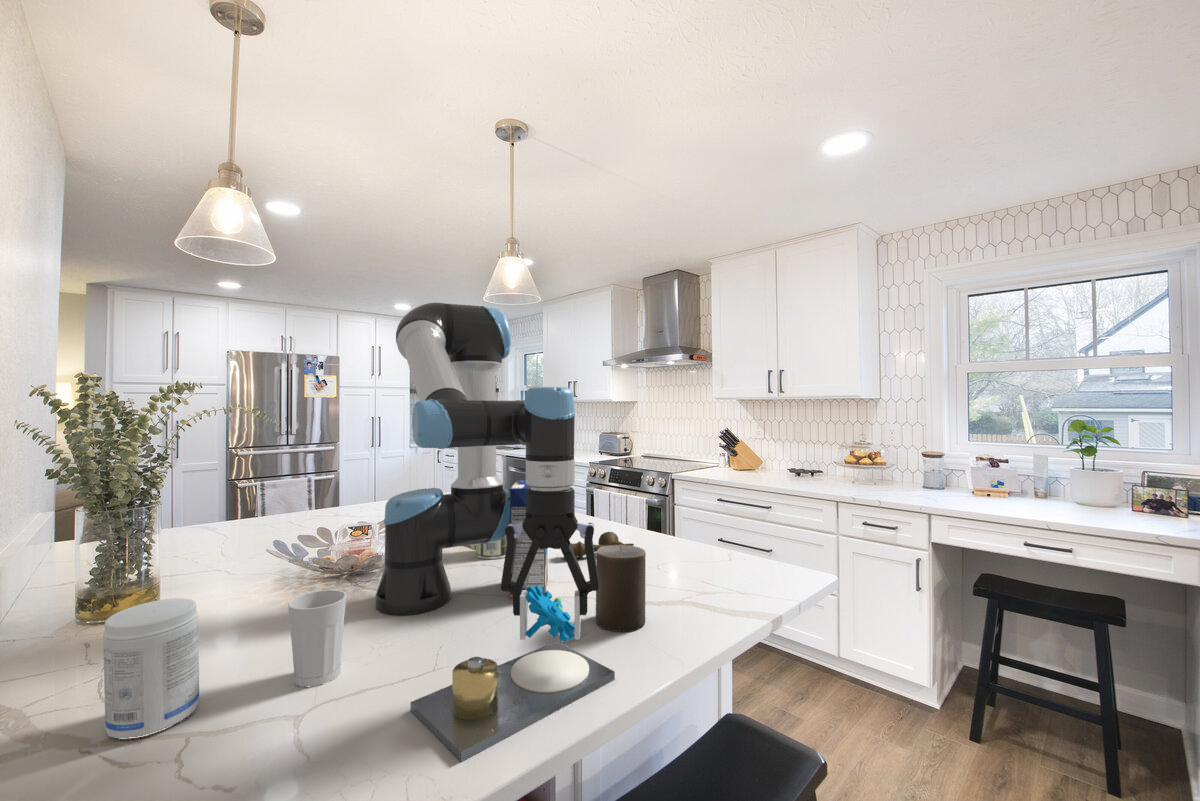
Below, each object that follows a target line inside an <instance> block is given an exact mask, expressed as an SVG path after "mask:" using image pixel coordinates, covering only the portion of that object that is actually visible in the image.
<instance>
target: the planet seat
mask: <svg viewBox="0 0 1200 801" xmlns="http://www.w3.org/2000/svg"><path fill="white" fill-rule="evenodd" d="M588 674H589V665H588V663H587V661H586V660H585V659H584V658H582V657H581V656H579V655H577V654H575V653H572V652H568V651H561V650H546V651H539V652H535V653H532V654H529V655H526V656H524V657H522V658H521V659H519V660H518V661H517V662H516V663H515V664H514V665H513V667H512V669H511V678H512V680H513V682H514V683H515V684H516V685H517V686H519V687H521V688H523V689H525V690H528V691H532V692H538V693H555V692H561V691H565V690H569V689H571V688H574V687H576V686H578V685H579V684H581V683H582V682H583V681H584V680H585V679H586V678H587V676H588Z"/></svg>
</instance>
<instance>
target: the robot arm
mask: <svg viewBox="0 0 1200 801" xmlns="http://www.w3.org/2000/svg"><path fill="white" fill-rule="evenodd" d="M395 342H396V346H397V350H398V351H399V353H400V355H401V356H402V357H403V358H404V359H405V360H406V361H407V365H408V367H409V371H410V375H411V378H412V380H413V384H414V388H415V391H416V393H417V398H418V400H419V401H417V402H415V403H414V405H413V408H412V417H411V429H412V440H413V441H414V443H415V444H416V446H418V447H419V448H421V449H438V450H444V449H452V448H457V478H455V480H454V481H453V482H452V483H451V484H450V493H448V494H445V493H444V492H443V490H442V489H441V488H438V487H430V488H418V489H414V490H409V491H405V492H401V493H399V494H396V495H395V496H392V497H390V498H389V499H388V500H387V502H386V504H385V506H384V507H385V508H384V510H385V511H384V519H383V524H384V568H383V572H382V574H381V577H380V578H381V579H380V581H379V584H378V587H377V590H376V593H375V609H376V610H377V611H379V612H381V613H383V614H388V615H396V616H402V615H403V616H404V615H414V614H421V613H425V612H429V611H432V610H435V609H438V608H440V607H442V606H444V605H445V604H447V603H448V602H449V601H450V600H451V597H452V596H451V591H452V589H451V583H450V581H449V577H448V575H447V573H446V569H445V566H444V563H443V549H449V548H450V549H451V548H455V547H456V548H457V547H465V546H471V545H472V546H473V545H476V544H481V543H482V544H487V543H488V542H493V541H498V540H501V539H502V538H504V537H505V535H506V538H507V547H506V554H505V558H504V561H503V568H502V575H501V581H500V582H501V583H500V590H501V592H508V593H512V595H513V600H512V613H513V616H514V617H515V616H518V617H519V640H520V641H521V640H522V641H523V640H524V641H525V640H526V638H527V635H526V632H527V631H528V601H527V600H526V599H525V596H526V595H527V590H522V587H523V585H524V583H525V580H526V578H527V575H528V573H529V570H530V568H531V565H532V563H533V560H534V558H535V555H536V553H537V551H538V548H540V549H547V548H548V549H554V550H561V553H562V555H563V558H564V557H565V559H566V560H565V559H564V560H565V561H566V564H567V566H568V569H569V571H570V575H571V576H572V578H573V580H574V583H575V586H576V588H577V589H575V590H574V598H573V599H574V626H575V630H574V635H575V636H574V640H580V638H581V616H587V613H588V595H589V593H591V592H596V591H597V590H598V589H599V579H598V572H597V558H596V554H595V553H596V552H594V546H593V545H594V542H593V541H594V538H593V537H594V534H595V533H594V532H595V524H594V523H593V522H588V523H584V522H580V521H578V519H577V517H576V515H575V514H576V513H575V504H576V503H575V502H576V501H575V500H576V499H575V498H576V497H575V496H576V495H575V489H574V488H573V487H572V486H573V485H574V484H575V482H576V481H575V479H576V478H575V472H576V471H575V470H576V469H575V462H576V461H575V426H576V425H575V423H576V422H575V416H576V409H575V400H574V392H573V390H572V389H571V388H568V387H565V386H564V387H562V386H536V387H535V386H534V387H529V388H528V389H527V390H526V392H525V399H524V400H523V399H521V400H517V399H516V400H497V398H496V396H497V394H496V389H497V388H496V386H497V385H496V372H497V371H498V370H499V369H500V368H501V367H502V366H503V359H506V358H507V357H508V356H509V354H510V352H511V346H512V337H511V330H510V325H509V321H508V319H507V316H506V315H505V313H504V312H503V311H501V310H500V309H498V308H494V307H488V306H487V307H486V306H484V305H481V306H480V305H472V304H471V305H469V304H458V303H457V304H455V303H445V302H429V303H423V304H421V305H419V306H416V307H415V308H414V307H413V309H411V310H410V311H408V312H407V314H405V315H404V316H403V317H402V318H401V320H400V322H399V323H398V324H397V327H396V331H395ZM520 445H522V446H523V445H524V446H525V480H526V484H527V485H528V486H530V487H529V488H528V489H527V490H526V516H525V519H524V521H523V523H518V524H514V523H510V491H509V490H508V489H507V488H504V482H503V481H502V480H501V479H500V478H499V477H498V476H497V446H498V447H499V446H520ZM522 530H524V531H525V532H526V534H527V535H528V537H529V538H530V539H531V541H532V544H531V546H530V549H529V551H528V554H527V556H526V559H525V561H524V564H523V566H522V569H521V571H520V574H519V576H518V578H517V581H516V582H514V581H512V574H513V567H514V560H515V554H516V547H517V538H519V537H520V535H521V531H522ZM576 531H578V532H579V536H580V538H582V539H584V542H583V544H584V545H585V552H586V555H585V558H586V564H587V571H588V577H589V580H587V581H586V578H585V576H584V573H583V571H582V569H581V566H580V564H579V562H578V559H577V557H576V556H575V554H574V551H573V549H572V545H571V543H572V542H571V541H570V539H571V538H572V536H573V535H574V533H576Z"/></svg>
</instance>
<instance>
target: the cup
mask: <svg viewBox="0 0 1200 801" xmlns="http://www.w3.org/2000/svg"><path fill="white" fill-rule="evenodd" d="M347 597H348V596H347V593H346V592H345V591H344V590H339V589H322V590H314V591H310V592H306V593H304V594H300V595H298V596H296V597H294V598H292V599H290V600H289V602H288V603H287V606H288V608H287V610H288V616H289V617H288V618H289V628H290V638H291V639H290V640H291V650H292V651H291V652H292V663H293V675H294V676H293V677H294V678H293V682H295V683H294V685H295V684H296V685H295V686H297V685H299V686H307V687H306V688H309V687H308V686H315V687H317V686H316V685H319V686H321V685H320V684H323V683H326V682H328V681H330V682H332V681H333V679H334V678H335V679H337V678H338V677H339V676H340V674H341V670H342V669H341V666H342V664H341V662H342V652H343V650H342V649H343V636H344V628H345V627H344V625H345V614H346V606H347ZM338 675H339V676H338ZM337 676H338V677H337ZM336 677H337V678H336ZM335 679H334V680H335ZM331 680H332V681H331ZM328 683H329V682H328ZM326 684H327V683H326ZM323 685H324V684H323ZM299 686H298V687H299Z"/></svg>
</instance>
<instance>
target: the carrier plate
mask: <svg viewBox="0 0 1200 801" xmlns="http://www.w3.org/2000/svg"><path fill="white" fill-rule="evenodd" d="M546 650H561V651H568V652H572V653H575V654H577V655H579V656H581V657H582V658H584V659H585V660H586V661H587V663H588V665H589V674H588V676H587V678H586V679H585V680H584V681H583V682H582V683H581V684H579V685H578V686H576V687H574V688H571V689H569V690H565V691H561V692H555V693H538V692H532V691H528V690H525V689H523V688H521V687H519V686H517V685H516V684H515V683H514V682H513V680H512V678H511V669H512V667H513V665H514V664H515V663H516V662H517V661H518V660H519V659H521V658H522V657H524V656H526V655H529V654H532V653H535V652H539V651H546ZM615 674H616V673H615V671H614V670H613V669H612V668H608V667H606V666H605V665H604V664H602V663H599V662H597V661H596V660H594V659H592V658H590V657H588V656H587V655H584V654H582V653H580V652H578V651H577V650H574V649H573V648H571V647H569V646H567V645H565V644H563V643H562V642H560V641H558V640H556V641H554V642H551V643H549V644H546V645H544V646H542V647H540V648H537V649H535V650H532V651H529V652H528V653H525V654H522V655H520V656H517V657H516V658H513V659H511V660H508V661H506V662H503V663H501V664H497V662H496V661H494V660H493V659H489V658H486V657H481V656H474V657H473V656H472V657H470V658H469V659H467V660H464V661H461V662H459V663H458V664H457V665H455V666H454V667H453V670H452V680H451V681H452V684H451V685H448V686H446V687H443V688H441V689H439V690H436V691H434V692H432V693H429V694H427V695H424V696H421V697H419V698H417V699H414V700H412V701H410V702H409V703H410V712H411V713H412V714H413V715H414V717H415V718H417V720H419V721H420V722H421V723H422V724H423V726H425V727H426V728H427V729H428V731H430V732H431V733H432V734H433V735H434V736H435V737H436V738H437V739H438V741H439V742H441V744H442V745H443V746H444V747H445V748H446V749H447V750H448V751H449V752H450V753H451V755H453V756H454V757H455V758H456V759H457V760H458V761H459V762H460V763H463V762H464V761H466V760H467V759H470V758H471V757H473V756H475V755H476V754H480V753H481V752H482V751H485V750H486V749H489V748H491V747H492V746H495V745H496V744H497V743H500V742H501V741H503V740H505V739H506V738H509V737H510V736H513V735H514V734H516V733H518V732H519V731H521V730H523V729H525V728H527V727H529V726H531V725H533V724H534V723H537V722H538V721H540V720H542V719H544V718H545V717H548V716H549V715H552V714H553V713H555V712H557V711H558V710H560V709H562V708H564V707H567V706H568V705H570V704H571V703H574V702H576V701H577V700H579V699H581V698H583V697H585V696H587V695H588V694H591V693H592V692H593V691H595V690H597V689H600V688H601V687H603V686H605V685H608V684H609V683H611V682H612V681H615V679H616V678H615Z"/></svg>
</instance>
